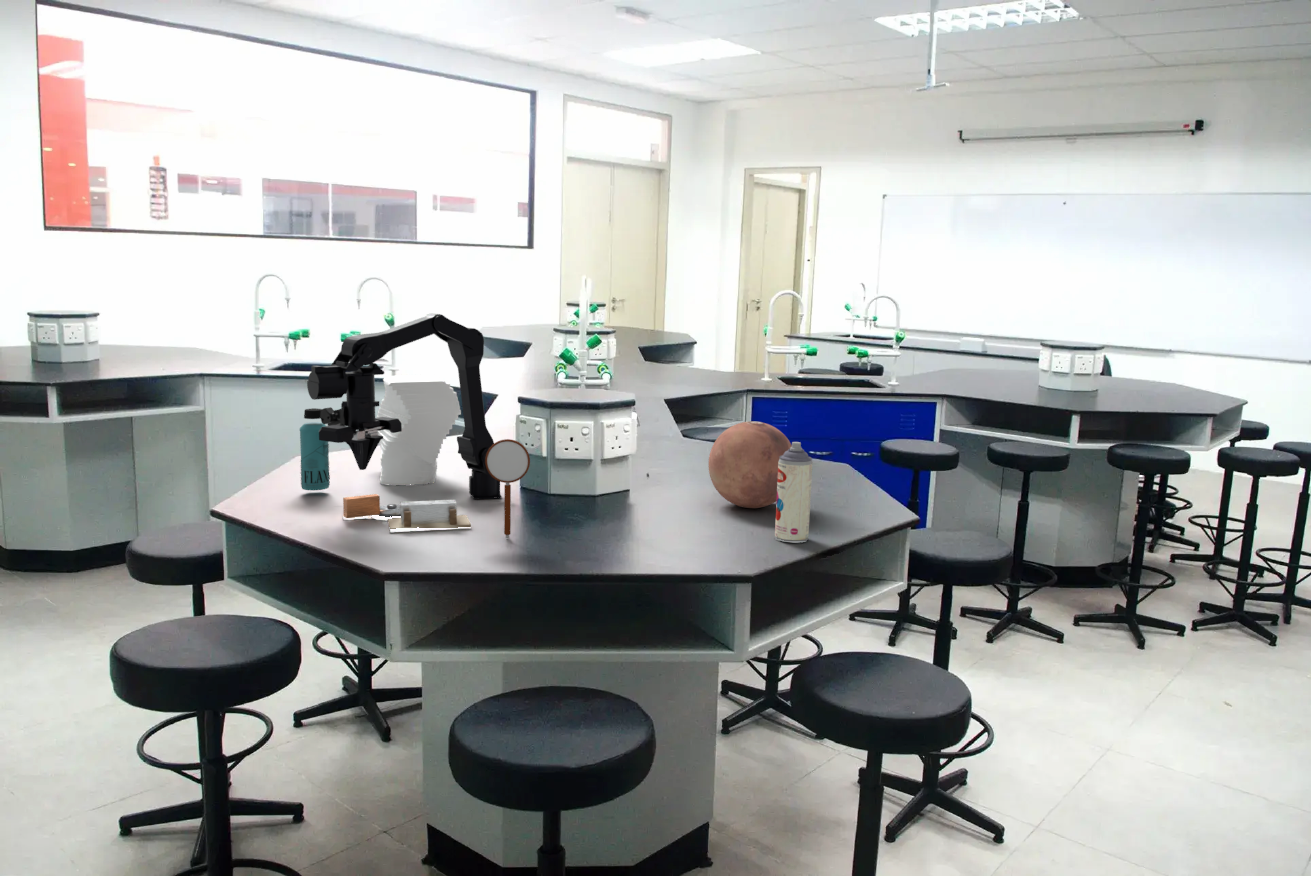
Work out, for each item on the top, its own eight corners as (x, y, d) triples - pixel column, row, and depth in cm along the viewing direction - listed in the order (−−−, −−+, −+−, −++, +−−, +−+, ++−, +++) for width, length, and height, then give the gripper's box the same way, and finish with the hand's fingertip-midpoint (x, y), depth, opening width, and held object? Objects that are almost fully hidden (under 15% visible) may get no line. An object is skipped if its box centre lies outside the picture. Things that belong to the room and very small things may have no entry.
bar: (455, 518, 200) (454, 499, 199) (456, 522, 197) (456, 503, 196) (400, 520, 196) (400, 501, 196) (401, 524, 193) (401, 505, 193)
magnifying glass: (529, 538, 190) (530, 438, 187) (529, 540, 188) (529, 440, 185) (485, 537, 189) (485, 438, 186) (484, 539, 188) (484, 439, 184)
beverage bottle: (299, 497, 219) (296, 410, 215) (302, 491, 225) (299, 406, 222) (329, 496, 220) (327, 410, 217) (331, 490, 227) (329, 406, 223)
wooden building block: (340, 516, 200) (339, 495, 200) (399, 508, 208) (399, 489, 207) (350, 522, 196) (349, 501, 195) (410, 514, 203) (410, 494, 203)
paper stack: (373, 489, 228) (371, 382, 224) (374, 468, 254) (372, 371, 250) (463, 487, 234) (462, 382, 230) (455, 466, 260) (455, 371, 256)
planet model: (799, 501, 229) (803, 418, 226) (787, 521, 210) (792, 431, 206) (716, 494, 234) (720, 413, 231) (698, 512, 215) (701, 424, 212)
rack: (466, 519, 203) (466, 501, 202) (471, 529, 196) (471, 510, 195) (388, 523, 198) (387, 504, 198) (390, 533, 191) (389, 513, 190)
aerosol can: (772, 534, 198) (777, 439, 195) (805, 535, 198) (810, 440, 195) (776, 543, 191) (781, 444, 188) (810, 544, 191) (816, 445, 188)
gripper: (364, 389, 212) (365, 458, 215) (298, 397, 196) (300, 472, 199) (402, 393, 207) (403, 464, 210) (338, 402, 191) (340, 478, 194)
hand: (362, 469), depth 203 cm, fingers closed
